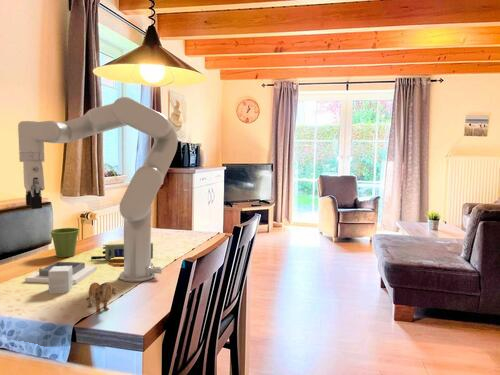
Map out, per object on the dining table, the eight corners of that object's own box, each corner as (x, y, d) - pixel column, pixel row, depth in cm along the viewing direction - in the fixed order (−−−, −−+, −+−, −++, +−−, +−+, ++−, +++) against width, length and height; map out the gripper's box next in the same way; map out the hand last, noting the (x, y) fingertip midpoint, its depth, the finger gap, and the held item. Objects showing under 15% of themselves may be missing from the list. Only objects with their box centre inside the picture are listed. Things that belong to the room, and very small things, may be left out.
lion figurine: (120, 312, 110) (120, 281, 109) (102, 318, 106) (102, 286, 105) (94, 298, 119) (94, 270, 118) (77, 303, 115) (77, 274, 114)
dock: (96, 269, 148) (96, 261, 147) (76, 283, 132) (76, 274, 132) (51, 268, 149) (51, 259, 148) (25, 281, 133) (25, 272, 132)
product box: (53, 287, 128) (53, 266, 128) (73, 286, 130) (72, 265, 129) (48, 294, 122) (47, 271, 122) (68, 292, 124) (68, 270, 123)
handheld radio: (152, 259, 165) (90, 262, 159) (152, 257, 169) (91, 260, 162) (152, 243, 165) (90, 246, 158) (152, 242, 168) (91, 244, 162)
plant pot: (82, 251, 174) (82, 227, 173) (77, 258, 162) (77, 232, 161) (54, 252, 171) (53, 227, 170) (46, 260, 159) (46, 233, 158)
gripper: (49, 158, 127) (51, 209, 129) (39, 157, 141) (41, 203, 142) (23, 158, 123) (25, 210, 124) (15, 157, 136) (17, 204, 138)
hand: (33, 206), depth 133 cm, fingers open, 9 cm apart
